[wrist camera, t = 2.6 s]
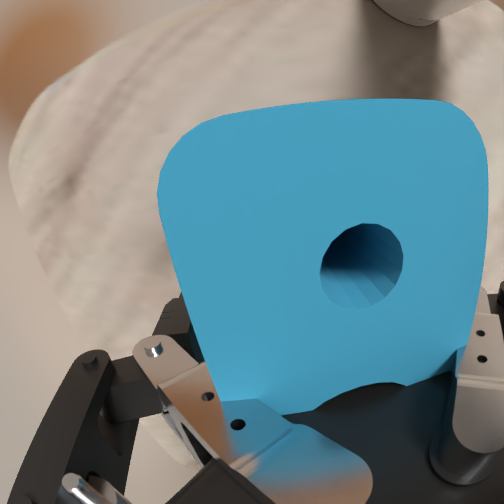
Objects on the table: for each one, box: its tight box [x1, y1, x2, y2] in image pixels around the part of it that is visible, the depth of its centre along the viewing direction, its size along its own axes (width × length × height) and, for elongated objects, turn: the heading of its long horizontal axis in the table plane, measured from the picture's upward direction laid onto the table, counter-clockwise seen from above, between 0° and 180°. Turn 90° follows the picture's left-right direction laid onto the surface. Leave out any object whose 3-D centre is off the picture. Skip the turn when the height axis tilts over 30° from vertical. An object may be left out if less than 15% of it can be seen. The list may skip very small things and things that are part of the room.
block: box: [157, 99, 488, 415], centre depth 15 cm, size 12×5×20 cm, turn 10°
